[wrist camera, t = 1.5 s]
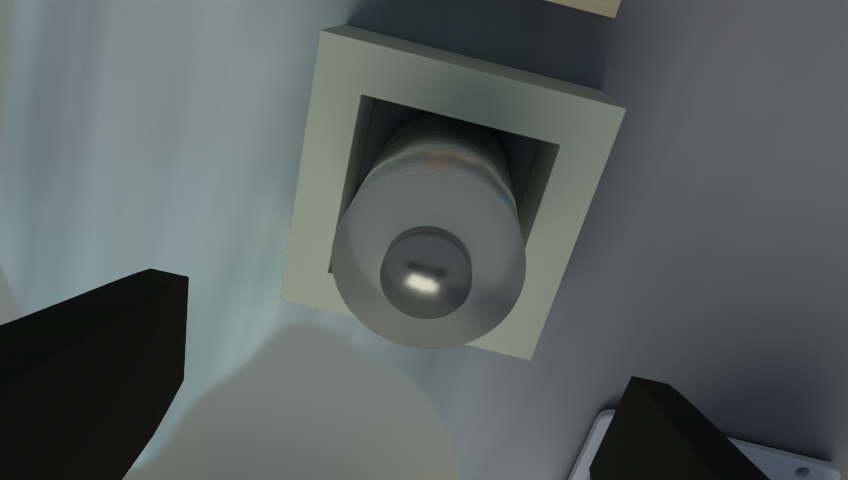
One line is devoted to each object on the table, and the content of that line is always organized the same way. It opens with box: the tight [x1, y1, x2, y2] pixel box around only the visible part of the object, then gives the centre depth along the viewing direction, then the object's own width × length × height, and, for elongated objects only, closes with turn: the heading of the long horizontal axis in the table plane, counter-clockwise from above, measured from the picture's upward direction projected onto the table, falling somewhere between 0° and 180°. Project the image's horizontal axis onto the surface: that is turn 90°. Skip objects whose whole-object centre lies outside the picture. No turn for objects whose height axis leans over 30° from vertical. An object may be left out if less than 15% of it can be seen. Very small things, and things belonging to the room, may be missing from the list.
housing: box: [280, 25, 626, 361], centre depth 17 cm, size 8×8×3 cm
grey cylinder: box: [331, 114, 526, 349], centre depth 16 cm, size 4×4×7 cm
